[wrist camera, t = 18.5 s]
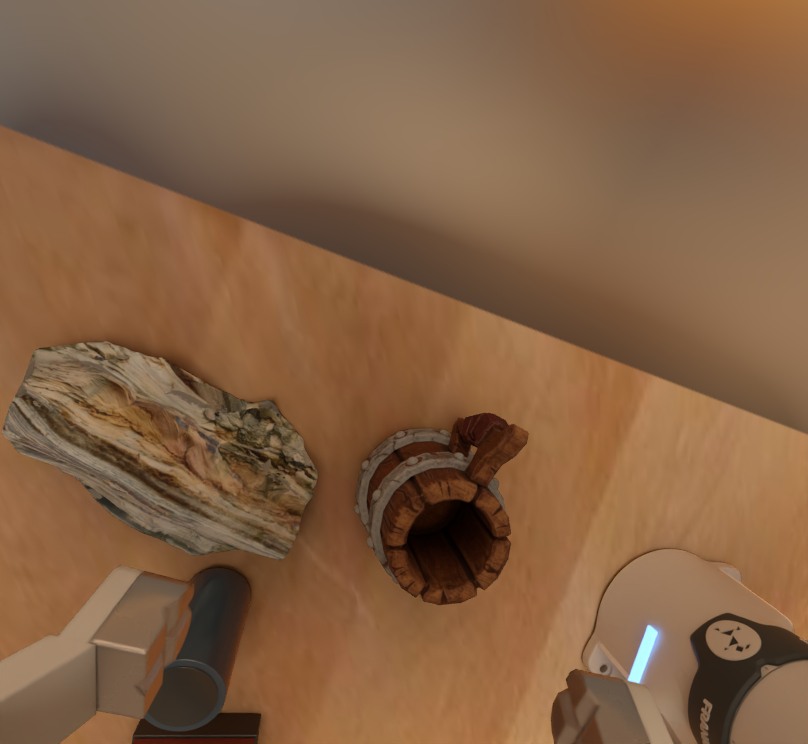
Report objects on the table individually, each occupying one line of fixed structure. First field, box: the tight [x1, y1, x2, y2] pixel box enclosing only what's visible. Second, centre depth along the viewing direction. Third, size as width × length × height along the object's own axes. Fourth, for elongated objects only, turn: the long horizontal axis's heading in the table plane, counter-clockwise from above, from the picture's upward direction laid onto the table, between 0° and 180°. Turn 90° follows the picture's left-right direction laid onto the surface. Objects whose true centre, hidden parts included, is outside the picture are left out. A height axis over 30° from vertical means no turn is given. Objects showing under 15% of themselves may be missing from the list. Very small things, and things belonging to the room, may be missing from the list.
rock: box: [2, 341, 318, 560], centre depth 36 cm, size 23×7×15 cm
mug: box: [354, 413, 529, 605], centre depth 36 cm, size 12×14×15 cm
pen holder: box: [144, 568, 251, 732], centre depth 36 cm, size 6×6×10 cm
